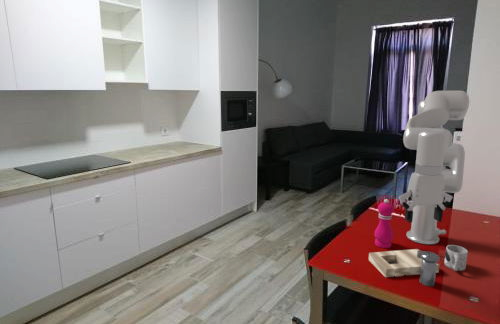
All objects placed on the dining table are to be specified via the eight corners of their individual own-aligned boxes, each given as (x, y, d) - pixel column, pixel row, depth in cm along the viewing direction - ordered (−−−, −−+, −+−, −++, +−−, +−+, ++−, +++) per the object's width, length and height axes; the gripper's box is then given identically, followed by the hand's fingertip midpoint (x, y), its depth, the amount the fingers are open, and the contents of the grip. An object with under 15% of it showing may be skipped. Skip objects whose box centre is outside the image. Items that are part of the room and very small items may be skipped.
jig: (417, 256, 127) (418, 244, 126) (438, 272, 115) (440, 259, 114) (368, 260, 124) (369, 247, 123) (385, 277, 112) (386, 264, 111)
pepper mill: (390, 250, 131) (394, 203, 127) (372, 246, 135) (375, 200, 131) (393, 243, 137) (397, 198, 133) (375, 239, 141) (378, 195, 137)
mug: (444, 259, 124) (446, 243, 122) (465, 264, 121) (467, 247, 119) (444, 272, 115) (446, 254, 114) (466, 277, 112) (469, 259, 111)
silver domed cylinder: (428, 277, 112) (432, 250, 110) (439, 286, 107) (443, 258, 105) (414, 278, 111) (417, 251, 109) (424, 287, 106) (427, 259, 104)
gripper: (447, 166, 107) (441, 216, 111) (395, 167, 106) (391, 217, 110) (462, 172, 100) (456, 224, 103) (407, 173, 99) (403, 225, 103)
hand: (423, 220), depth 107 cm, fingers open, 9 cm apart
